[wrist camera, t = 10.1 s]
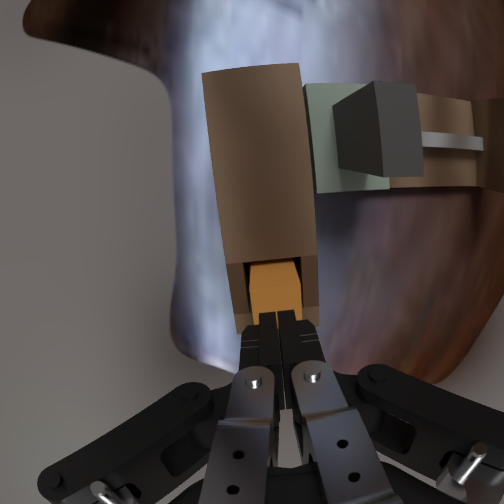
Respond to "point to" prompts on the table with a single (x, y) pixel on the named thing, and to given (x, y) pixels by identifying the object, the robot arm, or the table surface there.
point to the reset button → (274, 287)
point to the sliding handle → (362, 134)
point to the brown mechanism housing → (300, 172)
